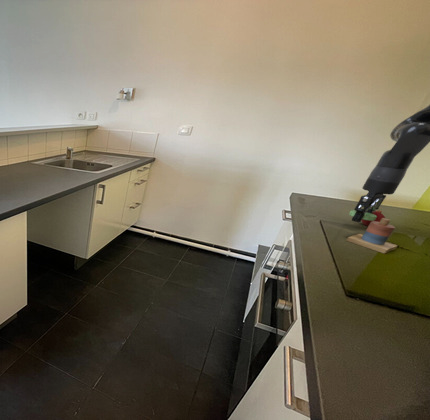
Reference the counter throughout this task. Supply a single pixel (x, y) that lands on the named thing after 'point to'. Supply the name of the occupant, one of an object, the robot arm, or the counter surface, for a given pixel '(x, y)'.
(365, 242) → the stand
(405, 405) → the counter surface
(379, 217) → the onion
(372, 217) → the ring
